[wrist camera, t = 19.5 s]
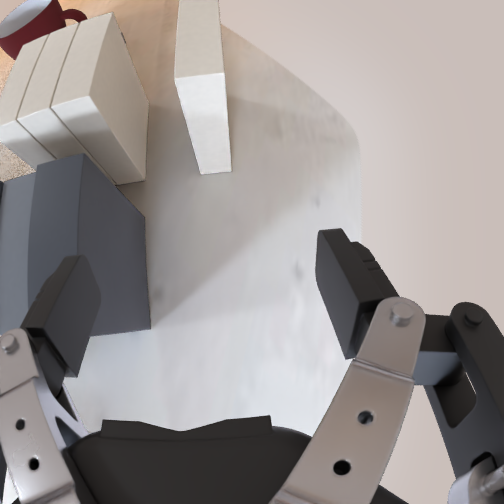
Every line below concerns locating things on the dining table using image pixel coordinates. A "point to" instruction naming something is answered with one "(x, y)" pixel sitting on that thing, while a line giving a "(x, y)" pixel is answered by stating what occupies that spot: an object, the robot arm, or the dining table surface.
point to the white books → (78, 101)
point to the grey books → (72, 242)
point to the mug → (33, 23)
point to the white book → (203, 83)
